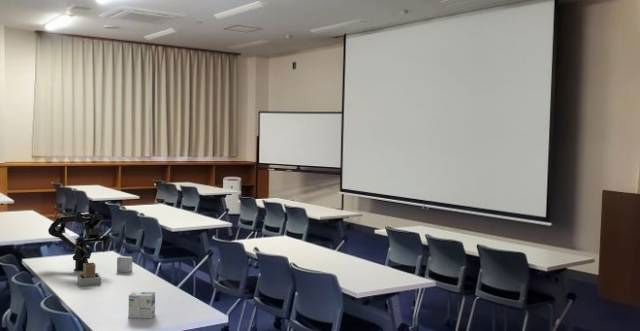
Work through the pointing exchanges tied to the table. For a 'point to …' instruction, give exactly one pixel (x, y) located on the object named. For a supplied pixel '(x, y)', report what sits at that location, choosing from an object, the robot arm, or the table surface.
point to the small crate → (88, 270)
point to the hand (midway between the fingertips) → (95, 252)
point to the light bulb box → (141, 305)
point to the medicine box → (124, 264)
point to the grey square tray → (89, 280)
